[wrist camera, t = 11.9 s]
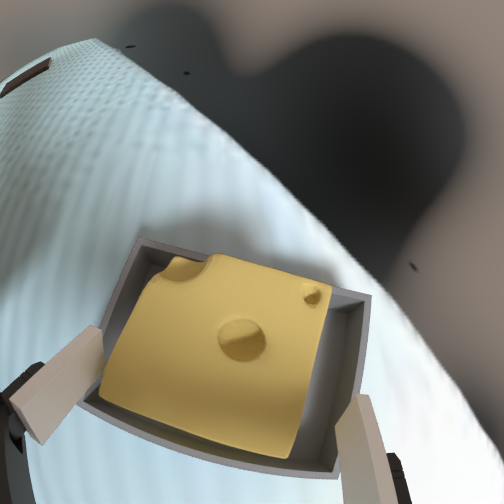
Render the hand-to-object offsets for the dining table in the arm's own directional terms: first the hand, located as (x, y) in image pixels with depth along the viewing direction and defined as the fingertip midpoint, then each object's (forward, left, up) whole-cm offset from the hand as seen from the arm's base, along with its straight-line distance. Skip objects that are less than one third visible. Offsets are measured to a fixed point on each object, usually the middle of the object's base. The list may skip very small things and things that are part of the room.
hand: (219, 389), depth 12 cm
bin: (0, +2, -10) cm, 10 cm away
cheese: (-1, +2, -10) cm, 10 cm away
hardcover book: (-106, +65, -11) cm, 125 cm away
